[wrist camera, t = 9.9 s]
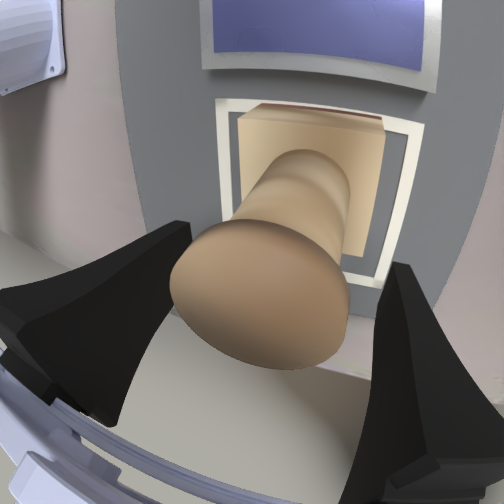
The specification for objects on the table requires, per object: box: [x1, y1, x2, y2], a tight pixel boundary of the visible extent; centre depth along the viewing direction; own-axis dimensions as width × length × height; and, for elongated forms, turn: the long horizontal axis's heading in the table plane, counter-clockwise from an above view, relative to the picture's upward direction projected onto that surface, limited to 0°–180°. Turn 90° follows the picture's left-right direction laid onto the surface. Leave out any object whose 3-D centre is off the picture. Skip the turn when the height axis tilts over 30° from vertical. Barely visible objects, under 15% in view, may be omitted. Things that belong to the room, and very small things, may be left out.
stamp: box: [170, 103, 386, 370], centre depth 10 cm, size 5×5×9 cm
